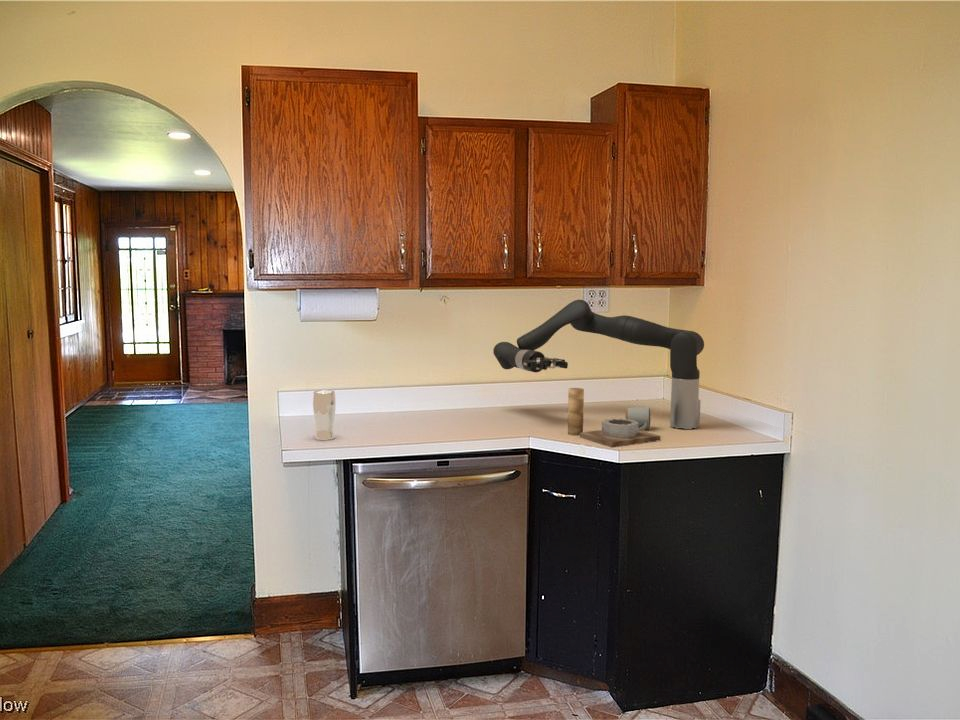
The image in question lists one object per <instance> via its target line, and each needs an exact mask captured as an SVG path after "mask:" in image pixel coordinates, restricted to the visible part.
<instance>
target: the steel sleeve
mask: <svg viewBox="0 0 960 720" xmlns="http://www.w3.org/2000/svg"><path fill="white" fill-rule="evenodd" d="M638 424H639V423H638V422H637V421H634V420H629V419H626V418H606V419H603V420H601V430H602V434H603V435H604V436H608V437H614V438H632V437H636V436H638Z"/></svg>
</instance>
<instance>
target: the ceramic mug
mask: <svg viewBox="0 0 960 720" xmlns="http://www.w3.org/2000/svg"><path fill="white" fill-rule="evenodd" d="M651 416H652V415H651V407H650V406H637V407H635V406H634V407H631V406H630V407H627V408H626V410H625V419H629V420H634V421H637V422H638V423H639V424H638V430H641V431H645V430H646V429H649V428H650V429H651V421H652V419H651ZM650 429H649V430H650Z"/></svg>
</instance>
